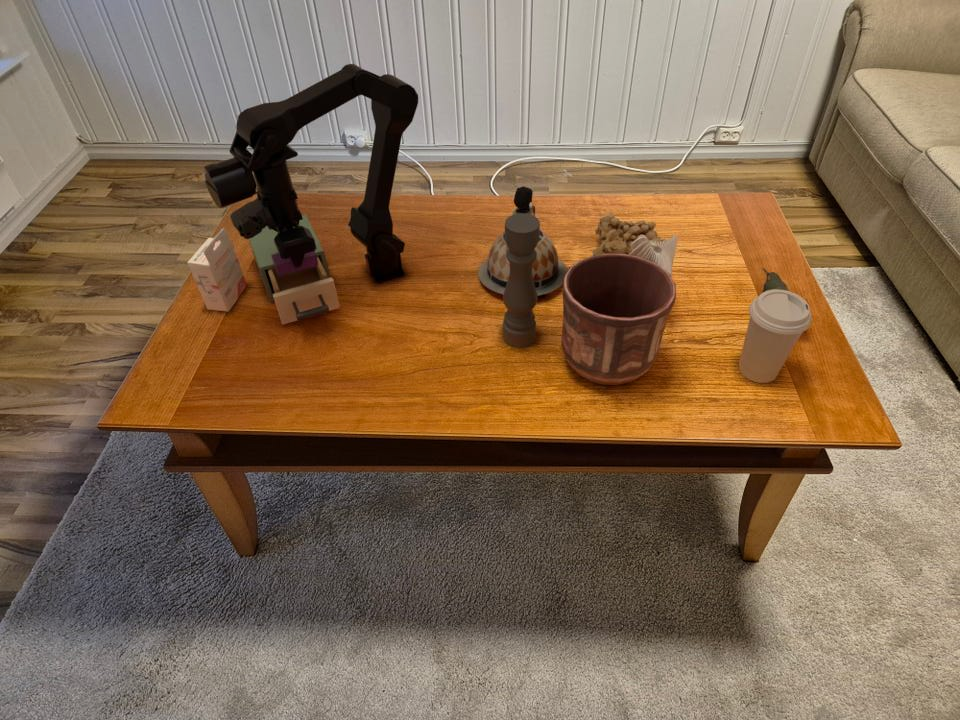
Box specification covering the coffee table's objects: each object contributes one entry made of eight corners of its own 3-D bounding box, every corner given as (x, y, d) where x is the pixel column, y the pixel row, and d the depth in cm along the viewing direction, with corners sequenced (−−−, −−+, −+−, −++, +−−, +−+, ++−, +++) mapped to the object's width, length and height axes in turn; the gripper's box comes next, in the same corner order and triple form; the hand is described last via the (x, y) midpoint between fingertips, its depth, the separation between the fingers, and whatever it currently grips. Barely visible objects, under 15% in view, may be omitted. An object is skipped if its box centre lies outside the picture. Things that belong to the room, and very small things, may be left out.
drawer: (347, 322, 126) (341, 295, 121) (288, 340, 123) (279, 313, 118) (322, 270, 138) (315, 243, 133) (267, 285, 135) (259, 258, 130)
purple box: (313, 254, 126) (310, 243, 124) (318, 265, 123) (316, 254, 121) (274, 265, 123) (271, 254, 122) (279, 276, 121) (275, 265, 119)
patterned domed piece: (499, 243, 145) (505, 159, 132) (578, 266, 140) (593, 181, 126) (463, 288, 133) (465, 200, 119) (547, 315, 128) (560, 227, 114)
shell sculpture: (669, 303, 129) (687, 225, 117) (658, 329, 124) (677, 251, 111) (628, 293, 132) (641, 215, 119) (616, 318, 127) (629, 240, 114)
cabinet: (331, 285, 136) (323, 250, 130) (270, 302, 132) (259, 267, 126) (313, 247, 145) (305, 214, 139) (256, 262, 142) (245, 229, 135)
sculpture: (770, 276, 135) (777, 256, 131) (807, 341, 121) (816, 320, 118) (748, 277, 134) (755, 257, 131) (783, 342, 121) (791, 322, 117)
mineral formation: (595, 234, 146) (664, 236, 143) (591, 278, 139) (664, 282, 136) (596, 206, 140) (669, 208, 137) (592, 251, 132) (669, 254, 129)
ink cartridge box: (225, 283, 137) (203, 223, 126) (247, 286, 136) (227, 225, 126) (205, 310, 131) (180, 249, 120) (228, 313, 130) (205, 251, 120)
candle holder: (539, 329, 125) (546, 215, 107) (530, 351, 121) (535, 236, 103) (508, 322, 126) (509, 209, 109) (498, 343, 122) (498, 230, 105)
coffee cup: (778, 397, 112) (807, 332, 101) (722, 376, 115) (745, 311, 105) (792, 362, 117) (821, 298, 107) (738, 344, 121) (761, 279, 110)
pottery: (608, 415, 109) (622, 337, 97) (537, 358, 119) (541, 280, 106) (677, 367, 117) (699, 288, 104) (605, 316, 127) (617, 239, 114)
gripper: (217, 172, 115) (242, 246, 126) (238, 226, 103) (263, 302, 114) (280, 157, 118) (298, 230, 130) (307, 208, 106) (325, 283, 118)
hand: (295, 260), depth 123 cm, fingers closed on purple box, 4 cm apart
